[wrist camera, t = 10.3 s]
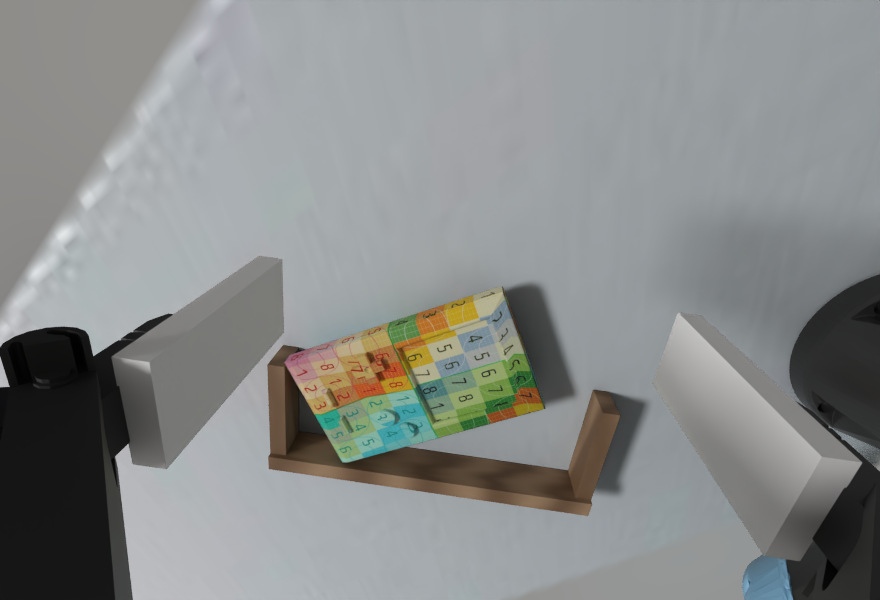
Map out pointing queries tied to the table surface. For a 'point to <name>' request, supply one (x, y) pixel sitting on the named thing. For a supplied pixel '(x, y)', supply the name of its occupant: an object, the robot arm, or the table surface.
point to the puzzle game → (419, 377)
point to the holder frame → (442, 457)
